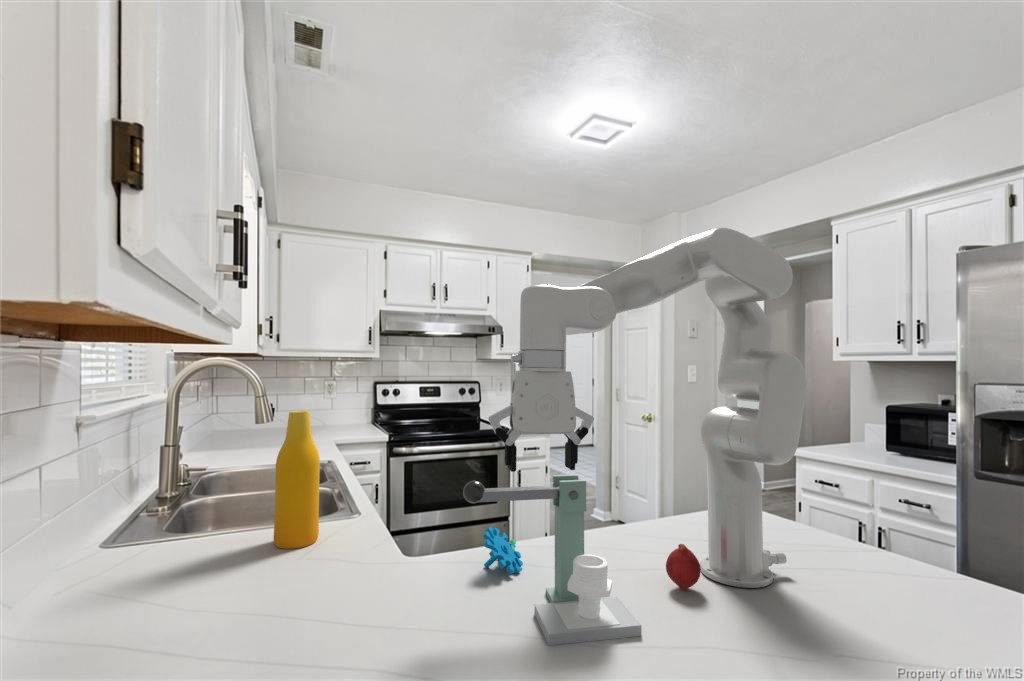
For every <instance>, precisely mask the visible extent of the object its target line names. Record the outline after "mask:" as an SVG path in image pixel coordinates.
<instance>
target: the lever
mask: <svg viewBox="0 0 1024 681" xmlns="http://www.w3.org/2000/svg"><path fill="white" fill-rule="evenodd" d="M462 494H463V498H464V500H465V501H467V502H468V503H470V504H478V503H491V502H493V503H495V502H510V501H515V502H516V501H517V502H518V501H531V500H533V501H534V500H551V499H552V500H553V499H559V485H555V486H553V485H536V486H513V487H511V486H510V487H509V486H508V487H490V488H489V487H487V488H486V487H485V486H484V485H483V483H481V482H480V481H477V480H471V481H469V482H467V483H466V484H465V485H464V487H463V492H462Z"/></svg>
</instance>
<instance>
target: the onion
mask: <svg viewBox="0 0 1024 681" xmlns="http://www.w3.org/2000/svg"><path fill="white" fill-rule="evenodd" d="M677 546H678V547H677V548H675V549H674V550H672V551H671V552H670V553H669V555H668V556H667V559H666V563H665V571H666V574H667V576H668V578H669V579H670V580H671V581H672V582H673V583H674V584H675V585H676V586H677V587H678V588H679V589H680V590H682V591H685V590H688V589H690V588H692V587H693V586H694V585H695V584H697V583H698V581H699V579H700V577H701V573H702V572H701V568H700V561H699V560H698V557H696V555H695V554H694V552H692V550H690V549H688V547H687V546H686V545H685V544H684V543H679V544H677Z"/></svg>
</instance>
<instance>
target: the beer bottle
mask: <svg viewBox="0 0 1024 681" xmlns="http://www.w3.org/2000/svg"><path fill="white" fill-rule="evenodd" d="M286 426H287V427H286V434H285V437H284V438H285V439H284V441H283V444H282V445H281V447H280V449H279V451H278V454H277V458H276V462H275V479H274V480H275V483H274V484H275V485H274V486H275V489H274V490H275V491H274V519H273V520H274V521H273V522H274V523H273V526H274V527H273V543H274V545H275V547H277V548H279V549H283V550H293V549H295V550H296V549H300V548H305V547H309V546H310V545H313V544H314V543H316V542H317V540H318V539H319V532H320V531H319V530H320V529H319V526H320V524H319V523H320V521H319V519H320V518H319V517H320V516H319V515H320V514H319V512H320V509H319V508H320V472H321V470H320V468H321V466H320V465H321V459H320V454H319V451H318V448H317V446H316V444H315V443H314V442H315V441H314V439H313V437H312V428H311V427H312V425H311V417H310V411H309V410H291V411H289V413H288V418H287V425H286Z"/></svg>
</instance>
